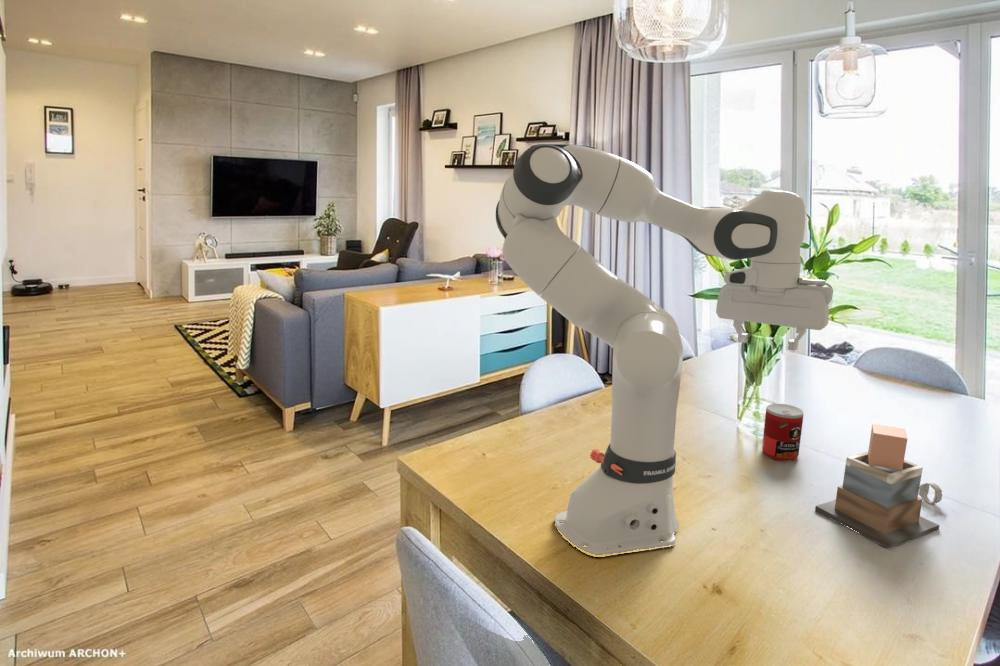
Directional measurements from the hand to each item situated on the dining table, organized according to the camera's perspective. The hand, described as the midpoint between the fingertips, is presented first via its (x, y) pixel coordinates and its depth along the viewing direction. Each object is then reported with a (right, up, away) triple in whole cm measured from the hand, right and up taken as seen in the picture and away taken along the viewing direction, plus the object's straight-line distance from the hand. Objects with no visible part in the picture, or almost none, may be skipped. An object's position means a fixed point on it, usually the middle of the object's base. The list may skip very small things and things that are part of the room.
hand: (766, 345), depth 120 cm
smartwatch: (+31, -31, -2) cm, 43 cm away
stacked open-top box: (+16, -32, -9) cm, 37 cm away
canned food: (+11, -26, +19) cm, 34 cm away
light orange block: (+16, -21, -11) cm, 29 cm away
